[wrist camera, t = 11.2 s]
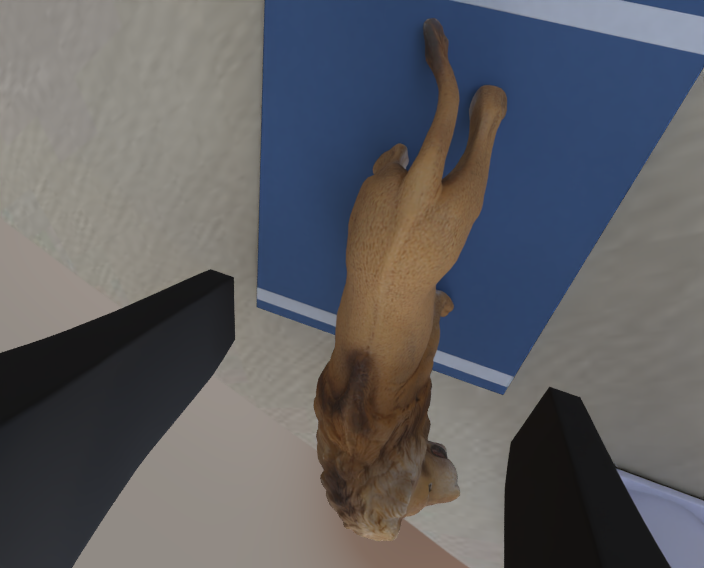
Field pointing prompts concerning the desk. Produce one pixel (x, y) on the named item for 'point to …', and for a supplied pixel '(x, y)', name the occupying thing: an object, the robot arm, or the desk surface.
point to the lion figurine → (400, 315)
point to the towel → (464, 146)
